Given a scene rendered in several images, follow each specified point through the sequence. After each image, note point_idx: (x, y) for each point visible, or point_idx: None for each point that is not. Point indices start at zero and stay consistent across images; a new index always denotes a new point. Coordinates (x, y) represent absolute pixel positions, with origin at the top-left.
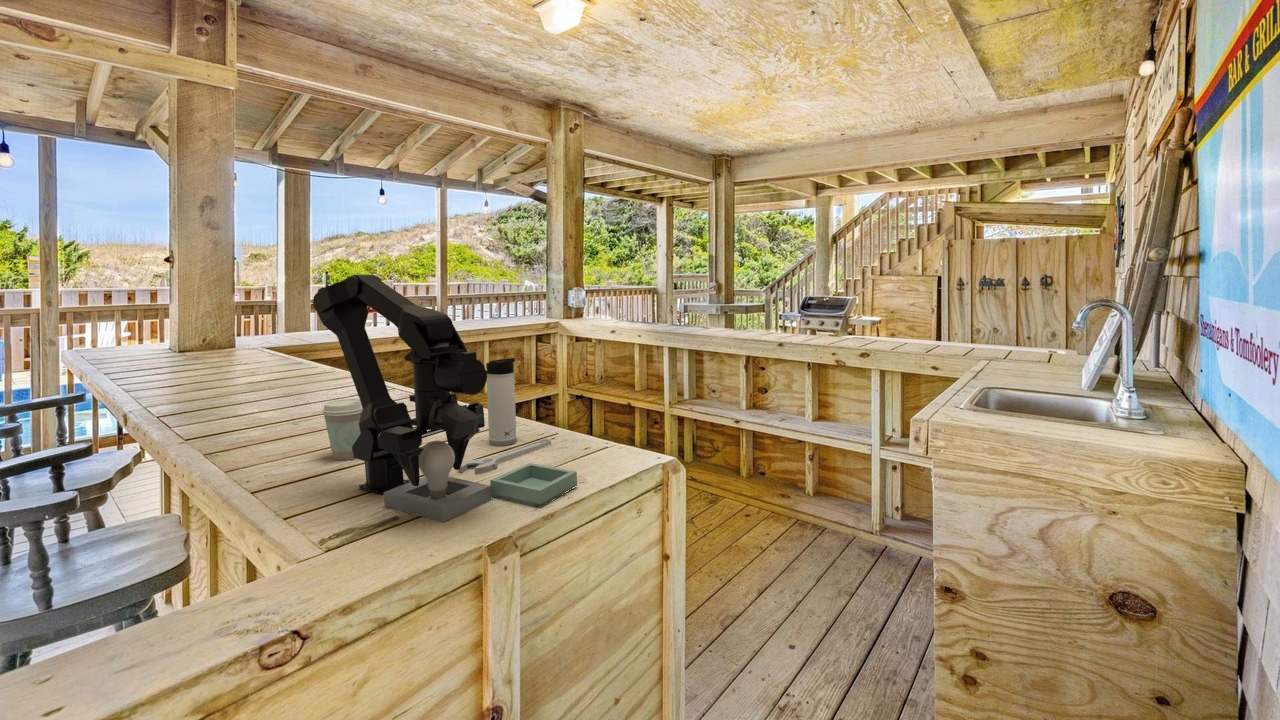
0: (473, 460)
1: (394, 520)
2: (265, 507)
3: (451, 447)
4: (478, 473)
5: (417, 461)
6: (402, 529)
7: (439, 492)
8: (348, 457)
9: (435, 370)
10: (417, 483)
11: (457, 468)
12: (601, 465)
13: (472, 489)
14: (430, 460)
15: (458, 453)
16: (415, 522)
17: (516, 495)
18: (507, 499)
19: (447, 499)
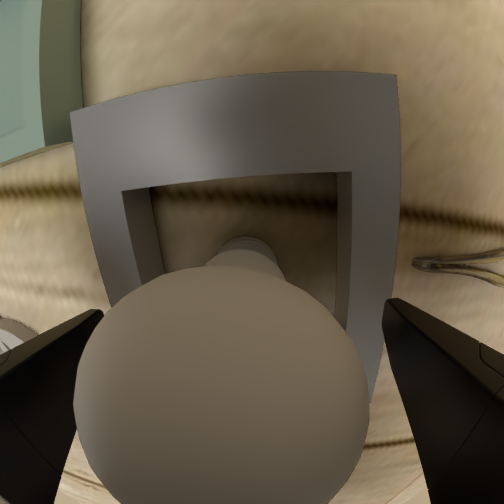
0: None
1: (435, 258)
2: (423, 474)
3: (61, 429)
4: (33, 332)
5: (490, 377)
6: (471, 176)
7: (261, 253)
8: None
9: None
10: (401, 303)
11: (99, 317)
12: None
13: (146, 135)
14: (360, 375)
15: (49, 366)
16: (422, 182)
17: (65, 16)
18: (79, 59)
19: (316, 131)
